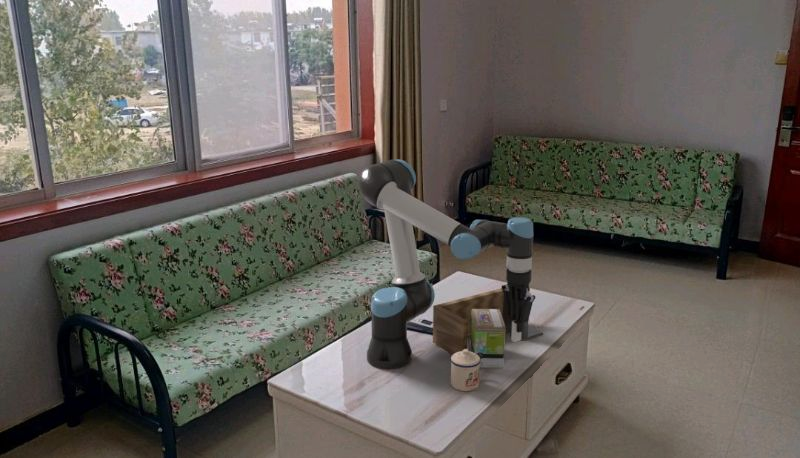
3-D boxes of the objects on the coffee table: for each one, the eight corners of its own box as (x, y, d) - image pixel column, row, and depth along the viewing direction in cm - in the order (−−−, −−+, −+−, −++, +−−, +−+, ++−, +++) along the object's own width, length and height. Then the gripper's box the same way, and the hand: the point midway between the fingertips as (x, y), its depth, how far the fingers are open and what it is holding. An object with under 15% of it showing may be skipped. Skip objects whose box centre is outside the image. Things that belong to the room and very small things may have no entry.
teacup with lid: (468, 395, 189) (469, 360, 186) (444, 385, 195) (444, 351, 191) (490, 379, 198) (491, 346, 195) (466, 370, 204) (467, 337, 200)
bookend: (524, 340, 224) (526, 303, 220) (501, 328, 234) (503, 292, 230) (543, 334, 229) (545, 298, 225) (520, 322, 238) (522, 287, 235)
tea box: (504, 368, 205) (506, 326, 201) (473, 368, 205) (474, 326, 201) (498, 347, 219) (500, 307, 215) (469, 347, 220) (470, 307, 216)
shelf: (462, 362, 209) (463, 323, 205) (432, 342, 223) (433, 305, 219) (542, 336, 227) (544, 300, 223) (510, 319, 241) (512, 285, 237)
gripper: (543, 272, 188) (539, 344, 194) (513, 260, 199) (511, 330, 205) (524, 277, 184) (521, 351, 191) (495, 265, 195) (493, 335, 201)
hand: (516, 340), depth 198 cm, fingers closed
